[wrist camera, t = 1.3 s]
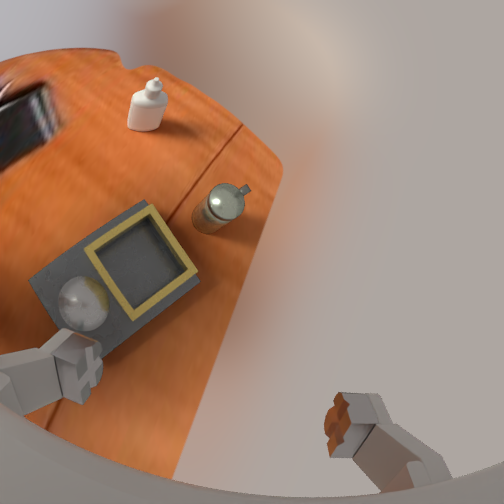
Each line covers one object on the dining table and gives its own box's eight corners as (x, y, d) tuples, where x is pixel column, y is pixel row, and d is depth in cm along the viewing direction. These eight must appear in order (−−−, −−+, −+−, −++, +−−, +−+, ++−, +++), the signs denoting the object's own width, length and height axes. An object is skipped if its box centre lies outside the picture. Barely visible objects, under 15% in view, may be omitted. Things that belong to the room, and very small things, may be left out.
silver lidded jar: (185, 213, 46) (203, 192, 38) (217, 192, 49) (241, 170, 41) (203, 240, 47) (225, 225, 39) (235, 218, 50) (262, 200, 42)
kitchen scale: (90, 363, 36) (87, 372, 31) (35, 282, 34) (24, 278, 29) (193, 283, 45) (205, 280, 40) (141, 207, 43) (146, 194, 38)
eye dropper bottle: (151, 139, 46) (167, 96, 35) (123, 127, 44) (131, 81, 33) (162, 121, 47) (180, 77, 36) (135, 109, 45) (147, 63, 34)
